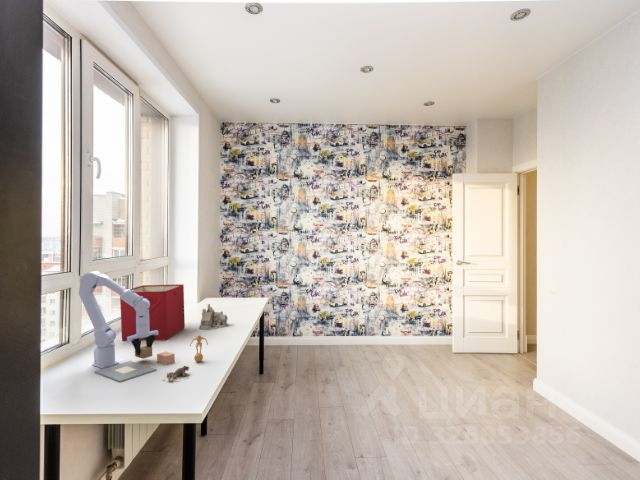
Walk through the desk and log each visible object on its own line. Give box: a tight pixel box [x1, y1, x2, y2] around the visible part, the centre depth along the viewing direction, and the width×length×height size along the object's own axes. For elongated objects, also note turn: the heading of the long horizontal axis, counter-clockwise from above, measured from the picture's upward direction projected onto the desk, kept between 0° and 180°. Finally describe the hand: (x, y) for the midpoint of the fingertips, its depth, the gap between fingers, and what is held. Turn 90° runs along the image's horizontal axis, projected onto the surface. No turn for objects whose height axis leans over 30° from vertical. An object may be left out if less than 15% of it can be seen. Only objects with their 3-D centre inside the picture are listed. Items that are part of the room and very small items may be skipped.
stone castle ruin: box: [198, 303, 229, 331], centre depth 246 cm, size 16×16×15 cm
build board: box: [94, 360, 157, 383], centre depth 166 cm, size 22×16×1 cm
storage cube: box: [119, 283, 186, 342], centre depth 230 cm, size 32×28×29 cm
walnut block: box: [134, 345, 153, 360], centre depth 179 cm, size 7×5×4 cm, turn 55°
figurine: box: [189, 335, 209, 363], centre depth 177 cm, size 8×6×12 cm
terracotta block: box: [156, 351, 176, 365], centre depth 177 cm, size 7×5×4 cm, turn 55°
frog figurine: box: [162, 365, 190, 384], centre depth 158 cm, size 12×12×4 cm
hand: (143, 353), depth 179 cm, fingers closed on walnut block, 5 cm apart
